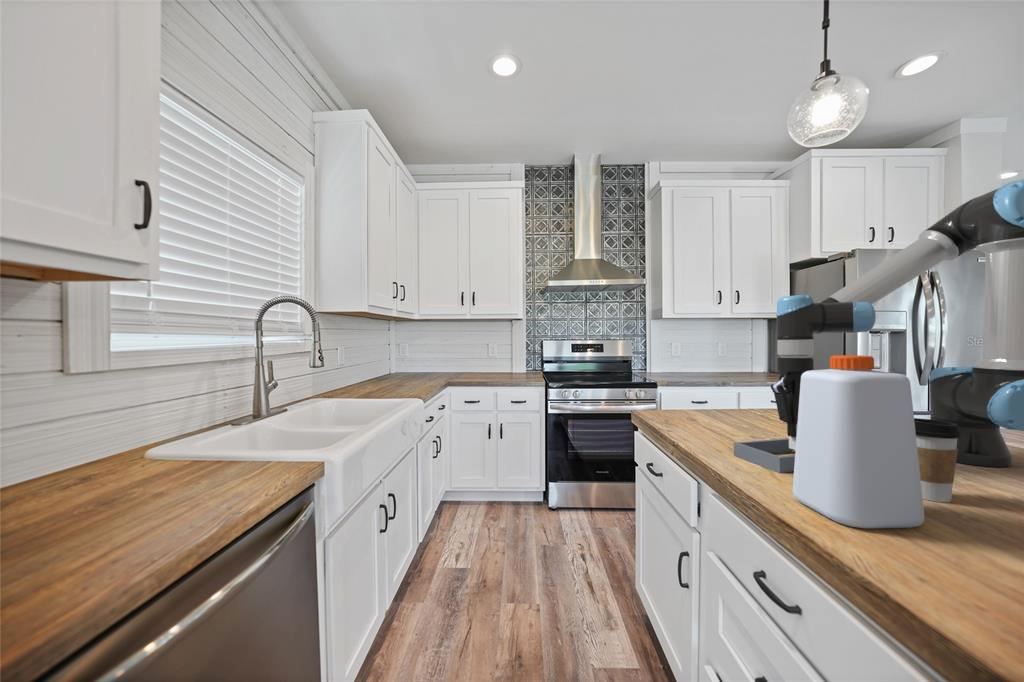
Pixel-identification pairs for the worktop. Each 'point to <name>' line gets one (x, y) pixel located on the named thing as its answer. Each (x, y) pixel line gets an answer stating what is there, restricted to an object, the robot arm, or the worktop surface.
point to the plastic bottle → (858, 446)
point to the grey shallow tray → (766, 454)
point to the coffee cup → (936, 457)
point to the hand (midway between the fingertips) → (796, 449)
